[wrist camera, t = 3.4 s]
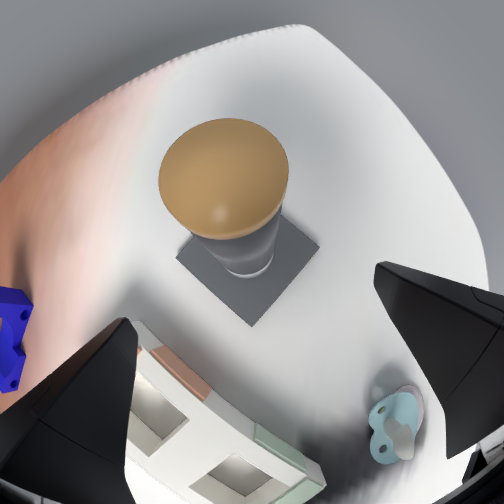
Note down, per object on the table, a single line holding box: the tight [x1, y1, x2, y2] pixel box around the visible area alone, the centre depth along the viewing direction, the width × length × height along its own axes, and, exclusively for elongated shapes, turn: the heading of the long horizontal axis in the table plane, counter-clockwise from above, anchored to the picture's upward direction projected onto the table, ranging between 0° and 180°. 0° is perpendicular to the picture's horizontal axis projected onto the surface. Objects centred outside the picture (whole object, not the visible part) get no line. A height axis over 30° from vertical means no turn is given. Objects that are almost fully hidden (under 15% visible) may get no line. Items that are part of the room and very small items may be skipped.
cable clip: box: [0, 286, 33, 393], centre depth 18 cm, size 12×4×6 cm, turn 149°
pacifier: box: [368, 385, 424, 464], centre depth 15 cm, size 7×6×6 cm
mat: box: [176, 215, 320, 327], centre depth 21 cm, size 8×8×1 cm
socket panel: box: [125, 321, 327, 504], centre depth 17 cm, size 20×9×4 cm, turn 49°
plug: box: [159, 118, 289, 279], centre depth 14 cm, size 4×4×13 cm
